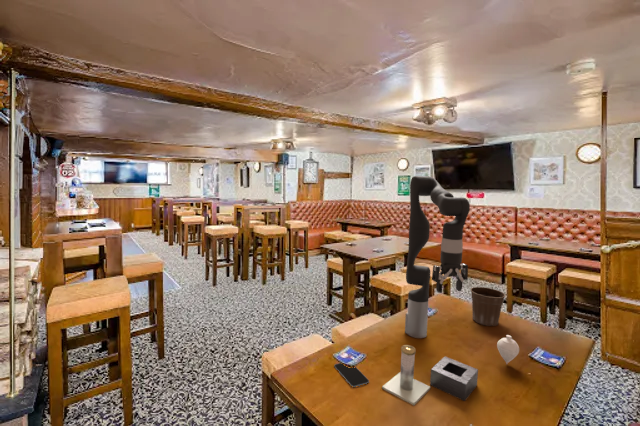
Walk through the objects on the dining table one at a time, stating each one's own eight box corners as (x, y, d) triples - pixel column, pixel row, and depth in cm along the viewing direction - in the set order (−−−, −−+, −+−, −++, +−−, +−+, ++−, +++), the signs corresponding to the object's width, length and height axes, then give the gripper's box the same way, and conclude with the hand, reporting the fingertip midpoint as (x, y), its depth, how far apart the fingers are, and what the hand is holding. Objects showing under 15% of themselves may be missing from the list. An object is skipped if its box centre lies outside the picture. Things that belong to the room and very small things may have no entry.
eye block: (430, 385, 114) (430, 369, 113) (443, 371, 122) (444, 356, 122) (464, 401, 105) (465, 384, 105) (476, 385, 114) (478, 369, 113)
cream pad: (382, 388, 111) (382, 386, 111) (399, 374, 120) (399, 372, 120) (413, 405, 103) (414, 403, 103) (430, 388, 111) (430, 386, 111)
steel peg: (403, 392, 108) (406, 352, 107) (396, 383, 113) (398, 345, 111) (416, 389, 110) (418, 351, 108) (408, 381, 114) (410, 344, 113)
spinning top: (506, 371, 123) (509, 341, 122) (491, 360, 130) (493, 332, 129) (522, 368, 125) (525, 339, 124) (506, 358, 132) (508, 330, 131)
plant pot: (503, 319, 171) (505, 290, 169) (502, 331, 157) (505, 299, 156) (470, 312, 179) (472, 284, 178) (466, 323, 166) (468, 293, 164)
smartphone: (349, 360, 128) (370, 381, 114) (349, 362, 128) (370, 384, 114) (333, 364, 125) (352, 386, 111) (333, 366, 125) (352, 389, 111)
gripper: (441, 253, 115) (439, 296, 117) (474, 251, 118) (471, 293, 120) (429, 248, 122) (427, 289, 124) (460, 247, 126) (458, 286, 128)
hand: (449, 291), depth 122 cm, fingers open, 8 cm apart
